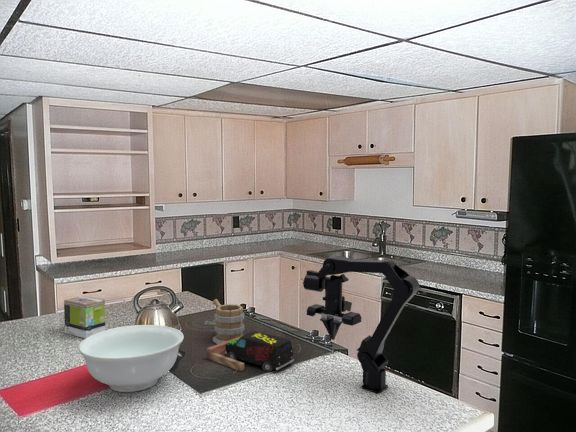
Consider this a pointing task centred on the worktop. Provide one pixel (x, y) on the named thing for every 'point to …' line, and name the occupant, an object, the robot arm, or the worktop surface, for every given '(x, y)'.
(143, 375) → the bowl
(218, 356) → the wooden corner rails
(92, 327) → the tea box
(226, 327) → the tankard
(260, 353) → the toy van
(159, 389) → the worktop surface
